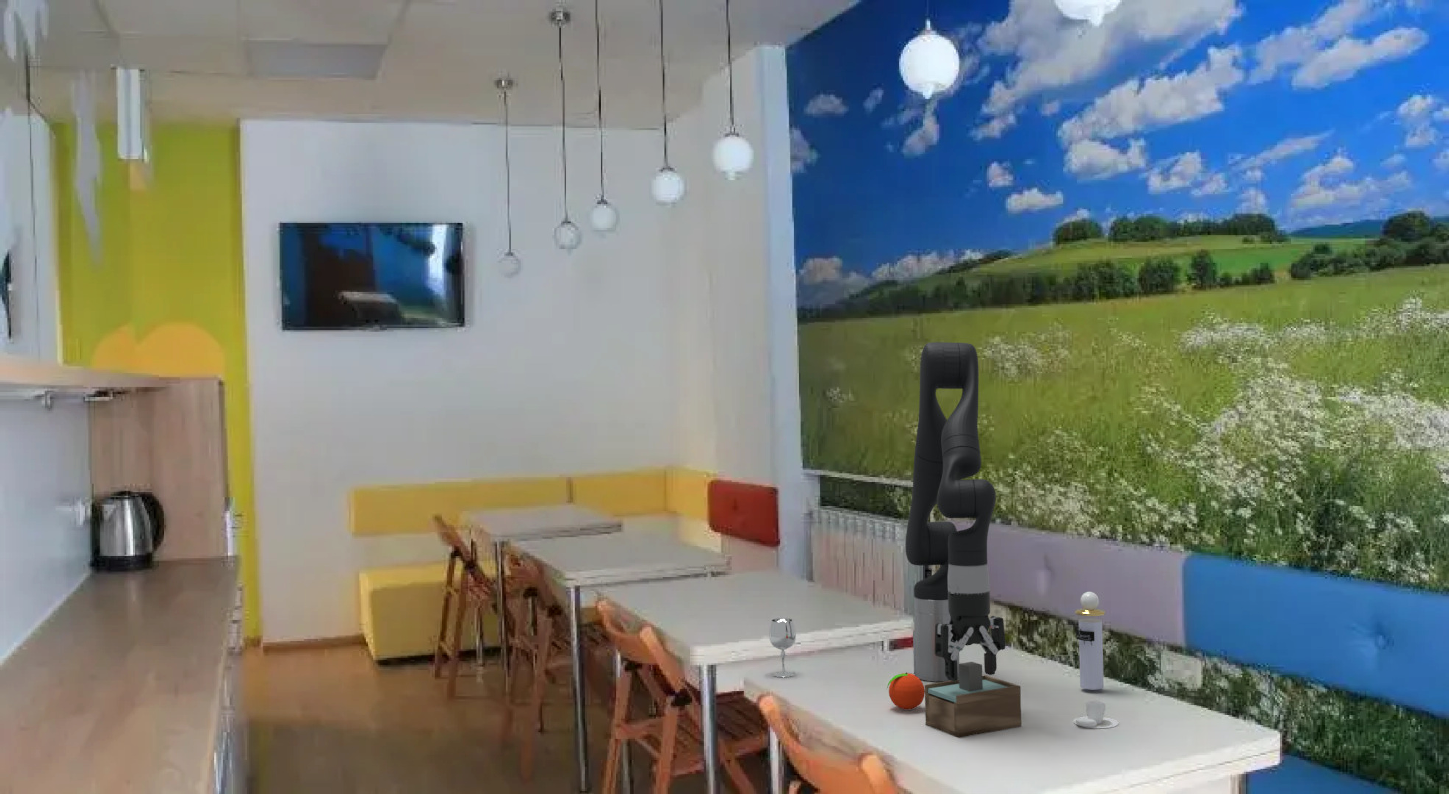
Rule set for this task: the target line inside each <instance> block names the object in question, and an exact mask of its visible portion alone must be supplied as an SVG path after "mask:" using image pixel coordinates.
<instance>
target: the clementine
mask: <svg viewBox="0 0 1449 794" xmlns="http://www.w3.org/2000/svg"><path fill="white" fill-rule="evenodd" d="M886 687H887V688H886V689H888V696H889V699H890V700H891V702H892V703H893V704H894V706H896V707H897V708H898V709H901V710H905V711H906V710H907V711H909V710H910V711H911V710H914V709H915V708H917V707H919V706H920V705H921V704H922V703H923V700H924V699H925V684H923V681H922V679H919V678H918V677H917V676H916V675H915V674H914V673H908V672H902V673H899V674H895V675H893V677H892V678H891V679H890V680H889V681H888V683H887V686H886Z"/></svg>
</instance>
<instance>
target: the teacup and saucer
mask: <svg viewBox="0 0 1449 794" xmlns="http://www.w3.org/2000/svg"><path fill="white" fill-rule="evenodd" d="M1085 705H1086V706H1085V707H1086V716H1080V717H1076V718H1074V719H1073V721H1072V722H1073V723H1074V724H1075V725H1076V726H1080V727H1083V728H1088V729H1111V728H1114V727H1115V728H1116V727H1117V726H1118V725H1119V722H1118V720H1116V719H1113V718H1110V717H1106V716H1104V715H1105V711H1106V704H1105V702H1103V701H1101V700H1087V701H1086V702H1085ZM1103 720H1104V721H1108V722H1110V723H1111V724H1110V725H1108V726H1097V725H1100V724H1102V722H1103Z"/></svg>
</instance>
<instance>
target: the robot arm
mask: <svg viewBox="0 0 1449 794" xmlns="http://www.w3.org/2000/svg"><path fill="white" fill-rule="evenodd" d="M920 355H921V356H920V365H919V366H920V367H919V406H918V421H917V430H916V437H915V445H914V447H915V448H914V455H913V456H914V459H913V477H912V491H911V492H912V493H911V503H910V509H909V513H908V514H909V515H908V520H907V526H906V533H905V544H904V545H905V556H906V558H907V561H908V562H909V563H910V564H911V565H913V566H922V567H923V566H939V568H938V570H936V572H934V573H933V574H932V575H930V576H928V577H926V578H924V579H921V580H919V581H917V582H916V583H915V584H914V587H913V599H914V600H913V602H914V607H913V608H914V630H913V631H912V640H913V642H912V645H913V675H915V676H917V677H918V678H919V679H920V680H921V681H922V680H924V681H928V682H929V681H930V682H945V681H957V680H958V679H959V664H960V652H962V651H963V650H964V648H965V646H971V645H973V644H974V645H975V644H976V645H980V646H981V648H982V649H983V651H984V653H983V660H984V662H983V664H984V666H983V667H984V673H985V675H988V676H993V675H996V671H997V667H998V666H997V654H998V652H999V651H1001V650H1002V651H1003V650H1005V649H1006V637H1005V636H1006V635H1005V624H1004V623H1005V622H1004V618H1003V617H999V616H996V615H991V616H990V617H989V615H990V613H991V597H990V596H991V593H990V592H991V591H990V589H991V588H990V573H989V568H988V567H989V566H988V535H989V529H990V524H991V519H992V516H993V512H994V509H995V505H996V497H997V496H996V495H997V494H996V489H995V488H994V485H993V484H992V483H991V482H990V481H989V480H987V479H984V478H983V479H982V478H980V479H979V478H977V479H968V478H971V477H973V476H975V475H977V474H978V473H979V472H980V470H981V468H982V458H981V457H982V456H981V449H980V439H979V431H978V429H979V428H978V425H979V424H978V422H979V421H978V420H979V419H978V415H979V385H980V383H979V376H980V375H979V374H980V373H979V372H980V371H979V358H978V352H977V350H976V347H975V346H974V345H973V344H972V343H969V342H947V341H946V342H941V341H939V342H936V341H935V342H934V341H933V342H926V344H925V345H924V346H923V348H922V350H921V354H920ZM939 389H942V390H943V389H945V390H952V389H953V390H956V389H957V390H960V389H961V391H962V393H961V396H960V400H959V401H958V403H957V405H956V406H955V408H954V410H953V412H951V414H950V415H949V417H948V418H947V417H946V416H945V414H944V413H943V410H942V408H941V407H940V404H939V401H938V398H937V390H939ZM935 506H937V508H938V509H937V510H938V512H939V513H940V514H941V515H942V516H943V517H945V518H947V519H975V520H974V523H973V524H972V525H971V526H970V527H968V528H965V529H963V530H957V528H956V527H957V526H955V524H954V523H953V522H951V521H928V520H929V517H930V515H931V513H932V511H933V509H934V507H935ZM989 629H990V634H989V633H988V630H989Z"/></svg>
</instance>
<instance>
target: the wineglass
mask: <svg viewBox="0 0 1449 794" xmlns="http://www.w3.org/2000/svg"><path fill="white" fill-rule="evenodd" d="M768 634H769V642H770V644H771V645H772V647H774V648H776V649H778V650H781V651H780V657H781V664H782V666H781V670H780V671H778V672H775V673H773V677H775V678H776V677H777V678H790V677H793V676H794V673H793V672H790V671H787V670H786V668H785V658H786V651H785V650H787V649H789V648H791V647H793V646H794V645H795V642H796V634H797V633H796V628H795V624H794V619H792V618H785V617H783V618H779V617H778V618H774V619H771V621H770V626H769V633H768Z"/></svg>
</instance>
